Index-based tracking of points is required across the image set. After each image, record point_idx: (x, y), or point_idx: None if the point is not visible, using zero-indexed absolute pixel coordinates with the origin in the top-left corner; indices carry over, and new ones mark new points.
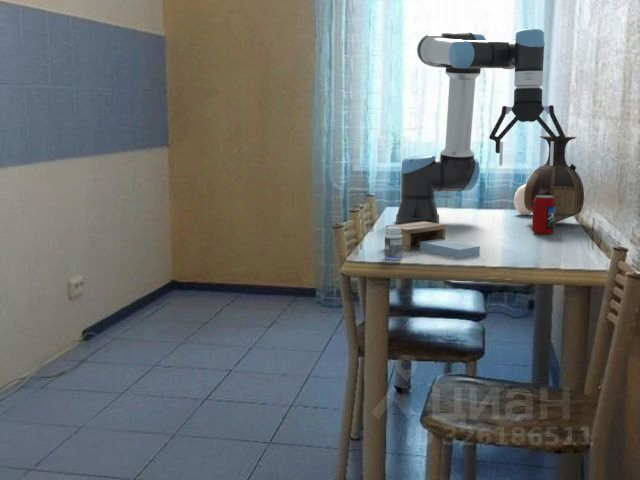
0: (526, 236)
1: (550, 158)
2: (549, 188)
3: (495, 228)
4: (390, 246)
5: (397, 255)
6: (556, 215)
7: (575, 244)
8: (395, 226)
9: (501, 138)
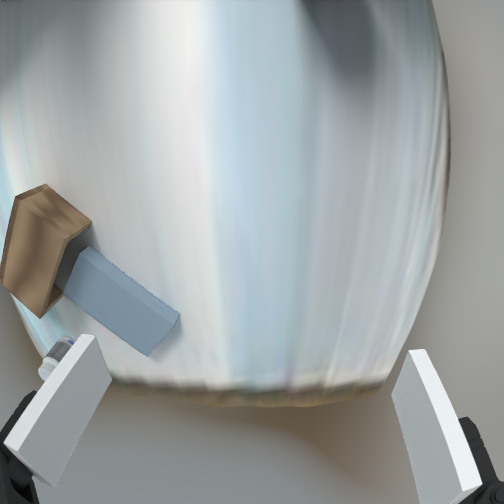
0: (274, 18)
1: (401, 428)
2: None
3: None
4: None
5: None
6: None
7: (404, 130)
8: (44, 370)
9: (37, 501)
